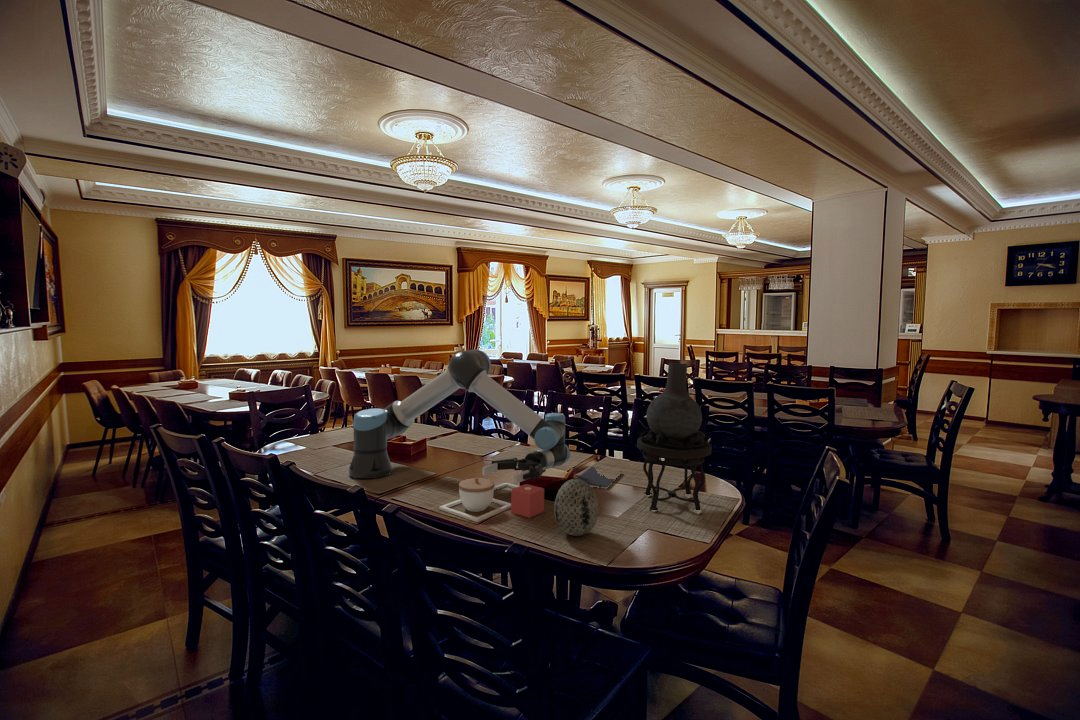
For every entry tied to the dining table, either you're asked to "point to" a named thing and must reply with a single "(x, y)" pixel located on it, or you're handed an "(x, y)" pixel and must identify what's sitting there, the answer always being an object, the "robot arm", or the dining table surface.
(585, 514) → the decorative egg
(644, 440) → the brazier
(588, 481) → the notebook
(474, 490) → the lidded jar
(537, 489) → the die
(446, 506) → the white rectangular frame
